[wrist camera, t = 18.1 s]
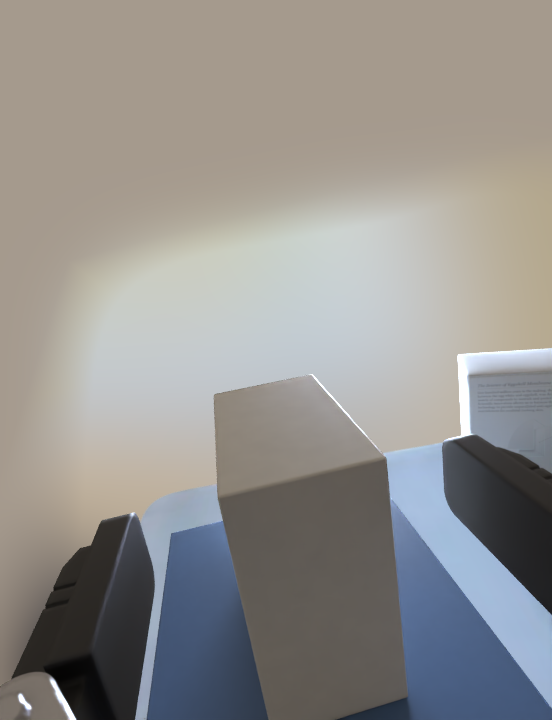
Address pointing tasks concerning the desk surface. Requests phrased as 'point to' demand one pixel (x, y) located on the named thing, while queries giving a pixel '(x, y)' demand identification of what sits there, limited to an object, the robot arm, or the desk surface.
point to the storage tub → (419, 629)
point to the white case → (310, 549)
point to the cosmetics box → (509, 401)
